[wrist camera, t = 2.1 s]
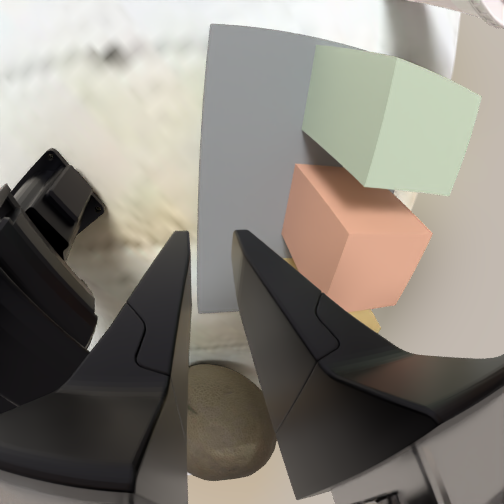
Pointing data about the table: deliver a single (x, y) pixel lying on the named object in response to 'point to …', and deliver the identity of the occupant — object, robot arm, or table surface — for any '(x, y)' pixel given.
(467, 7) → the smoothie
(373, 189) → the terracotta block
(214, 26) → the grey mat
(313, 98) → the sage block
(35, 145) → the table surface
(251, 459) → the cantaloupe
